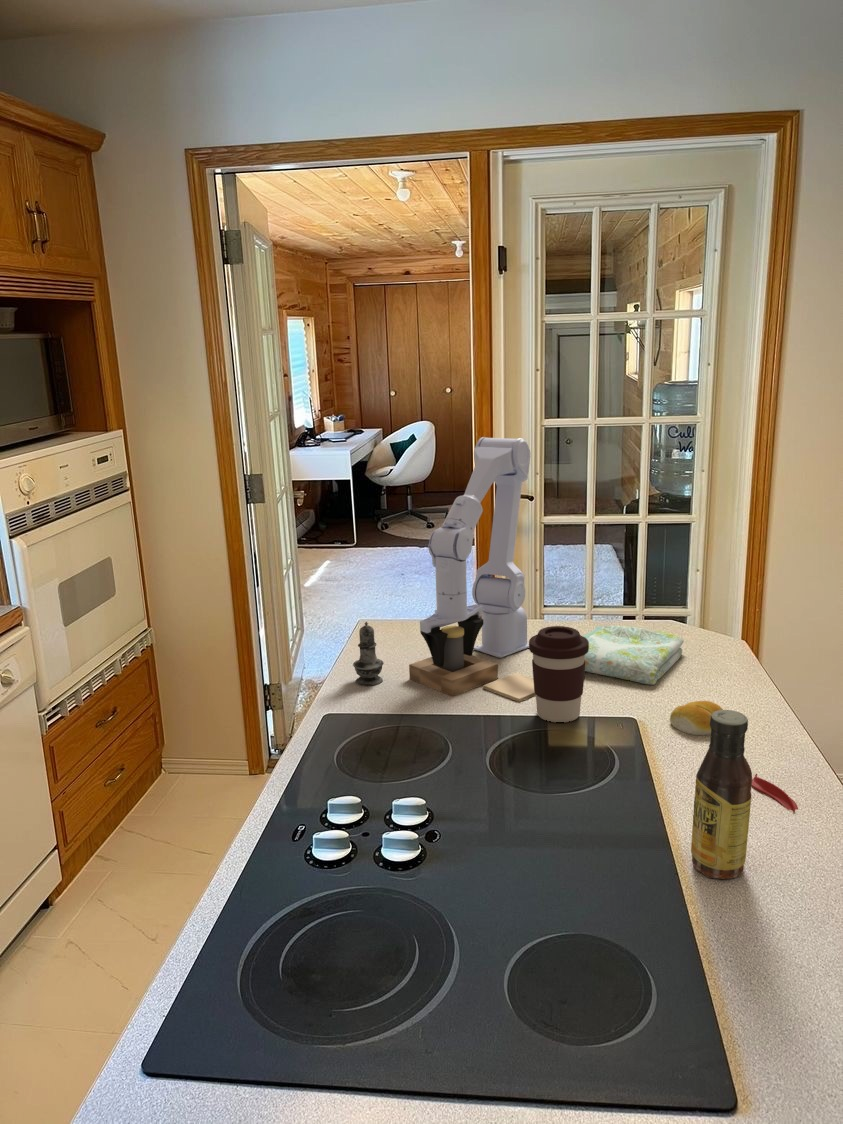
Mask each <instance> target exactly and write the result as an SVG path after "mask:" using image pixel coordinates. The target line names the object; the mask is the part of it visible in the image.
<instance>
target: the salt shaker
mask: <svg viewBox="0 0 843 1124" xmlns="http://www.w3.org/2000/svg"><path fill="white" fill-rule="evenodd" d="M368 624H369V623H368V622H367V621H365V623H364V625H363V626H362V627H360V629H359V634H358V635H359V643H358V645H357V647H359V658H358V660H356V661H354V662H353V663H352V666H353V668H354V670H355V672H356V674H357V675H358V676H359V677H357V678H356V679H355V684H356V685H358V686H362V687H374V686H377V685H380V684H381V683H383V681H384V679H383V677H382V676H380V674H381V672H382V669H383V666H384V663H385V662H384V661H383V660H382V659H379V658H378V657H377V654H376V647H377V642H375V629H374V628H373V626H370V625H368Z"/></svg>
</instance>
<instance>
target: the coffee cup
mask: <svg viewBox="0 0 843 1124" xmlns="http://www.w3.org/2000/svg"><path fill="white" fill-rule="evenodd" d="M583 636H584V635H581V633H580V631H578V629H576V628H574V627H570V626H564V625H563V626H562V625H561V626H560V625H555V626H552V625H551V626H547V627H543V628H541V629H540V630H538V632H537V634H535V635H533V636H531V637H530V638H529V641H528V644H529V648H528V651H529V652H530V653H531V654H532V661H531V664H532V665H531V666H532V678H533V681H534V692H535V694H536V695H535V702H536V703H535V705H536V713H537V716H538V717H539V718H540V719H542V720H544V721H546V720H547V722H549V721H551V723H556V722H564V723H569V721H570V722H573V721H575V720H577V719H578V718H579V717H580V714H581V706H582V695H583V693H584V687H585V686H584V684H585V683H584V682H585V675H586V674H585V672H586V671H585V660H584V658H585V654H586V653H588V651H589V642H588V640H587V639H586V638H585V637H583Z"/></svg>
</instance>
